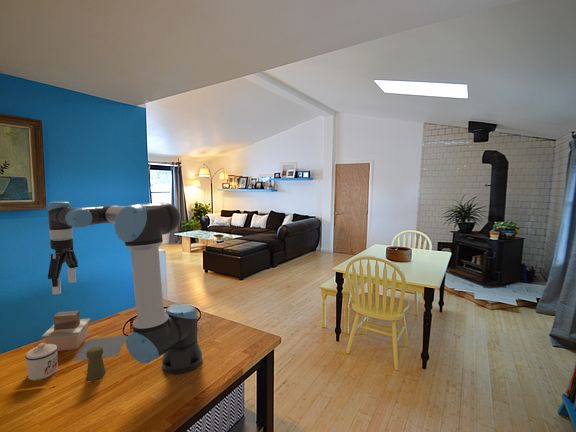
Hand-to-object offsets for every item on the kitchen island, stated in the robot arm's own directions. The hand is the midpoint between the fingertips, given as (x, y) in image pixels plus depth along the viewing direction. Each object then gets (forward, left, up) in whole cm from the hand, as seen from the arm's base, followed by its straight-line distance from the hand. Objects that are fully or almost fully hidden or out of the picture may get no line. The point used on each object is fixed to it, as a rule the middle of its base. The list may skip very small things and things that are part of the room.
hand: (65, 287), depth 123 cm
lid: (0, 0, -19) cm, 19 cm away
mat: (-6, -15, -26) cm, 30 cm away
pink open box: (0, 0, -26) cm, 26 cm away
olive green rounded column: (-25, -19, -26) cm, 41 cm away
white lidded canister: (-18, 0, -26) cm, 32 cm away
